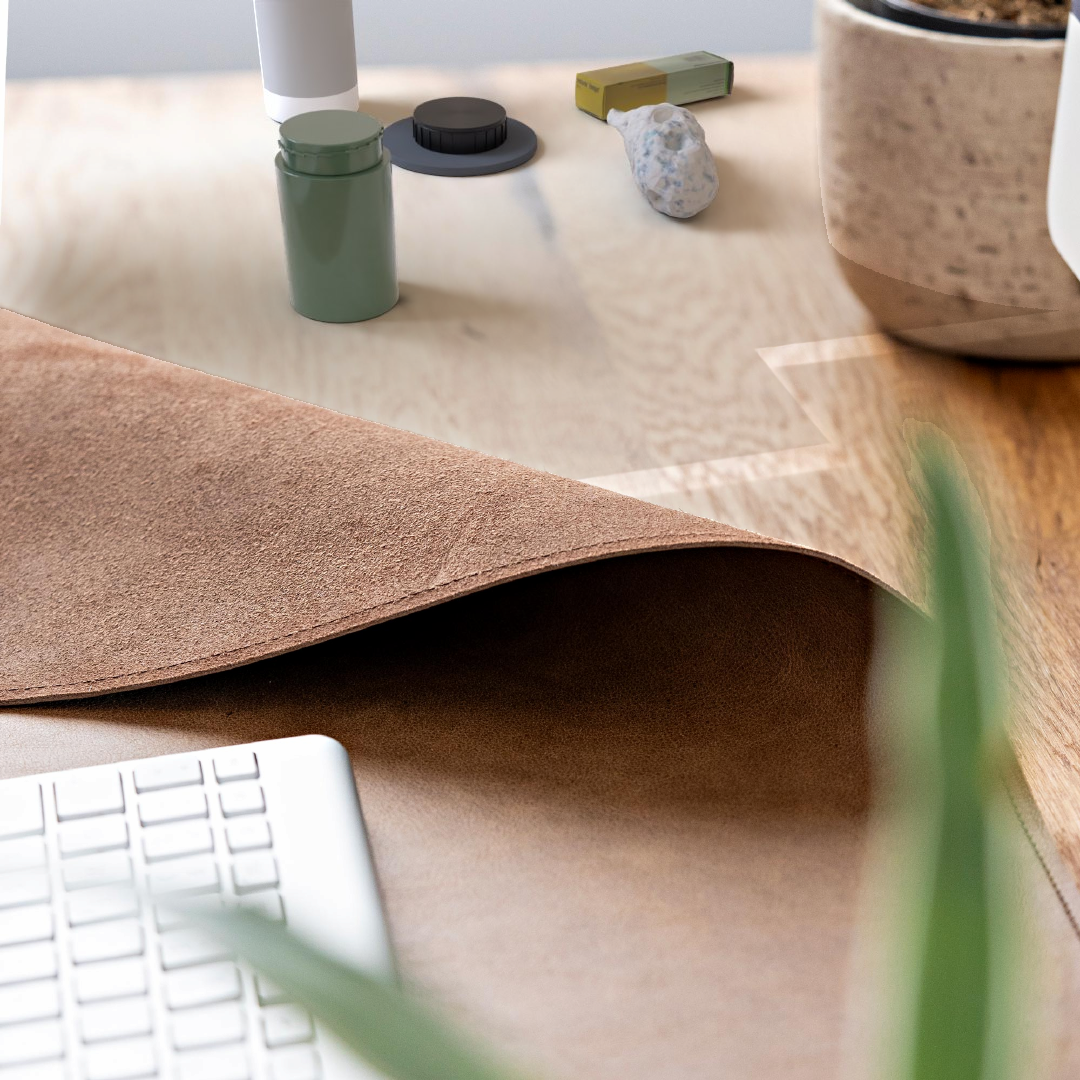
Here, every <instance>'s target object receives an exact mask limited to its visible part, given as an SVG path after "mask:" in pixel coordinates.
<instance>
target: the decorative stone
mask: <svg viewBox="0 0 1080 1080" xmlns="http://www.w3.org/2000/svg"><path fill="white" fill-rule="evenodd" d="M606 122H607V124H608V125H609V126H612V127H613V128H614V129H616V130H617V131H618V132H619V135H620V136H621V137H622V140H623V145H624V150H625V152H626V155H627V158H628V161H629V164H630V165H629V166H630V168H631V172H632V175H633V180H634V184H635V186H636V188H637V189H638V191H639V192H640V194H641V195H642V196H643V197H644V198H645V200H646V201H647V202H648V204H649V205H650V206H651V207H652V208H653V209H655V210H657V211H659V212H661V213H663V214H665V215H667V216H669V217H675V218H681V219H687V218H691V217H693V216H695V215H697V214H698V213H699V212H701V211H703V210H705V209H706V208H708V207H709V206H710V205H711V203H712V202H713V201H714V200H715V198H716V195H717V193H718V191H719V187H720V180H719V176H718V172H717V165H716V162H715V160H714V157H713V153H712V150H711V149H710V147H709V145H708V144H707V142H706V132H705V129H704V127H703V126H701V123H699V122H698V120H697V118H696V116H694V114H693V113H692V112H691V111H690V110H689V109H687V108H685V107H681V106H678V105H671V104H669V103H661V104H658V105H646V106H642V107H640V108H637V109H633V110H630V111H628V112H623V111H620V110H616V109H614V108H612V109H611V110H610V111H609V113H608V115H607V119H606Z"/></svg>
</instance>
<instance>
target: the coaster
mask: <svg viewBox="0 0 1080 1080" xmlns="http://www.w3.org/2000/svg"><path fill="white" fill-rule="evenodd" d="M412 119H413V115H412V116H409V117H405V118H402V119H399V120H397V121H395V122H393V123H392V124H389V125H388V126H386V127H385V128H384V133H383V137H382V140H383V146H384V147H385V148H387V149H388V150H389V152H390V154H391V162H392V164H393V165H394V166H397V167H400V168H402V169H405V170H409V171H412V172H416V173H420V174H426V175H427V174H428V175H433V176H443V177H445V176H446V177H447V176H448V177H468V176H469V177H470V176H481V175H490V174H493V173H494V174H495V173H499V172H503V171H507V170H509V169H513V168H515V167H518V166H520V165H522V164H524V163H526V162H528V161H529V160H530V159H532V157H533V156H534V155H535V154H536V152H537V149H538V148H537V147H538V136H537V134H536V132H535V131H534V130H533V129H532V128H531V127H530V126H529V125H527V124H525V123H524V122H521V121H520V120H517V119H514V118H512V117H509V116H507V139H506V140H505V142H504V143H503V144H502V145H501V146H499V147H497V148H495V149H492V150H490V151H486V152H481V153H476V154H445V153H438V152H434V151H430V150H428V149H425V148H423V147H421V146H420V145H419V144H417V142H415V138H413V121H412Z"/></svg>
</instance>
